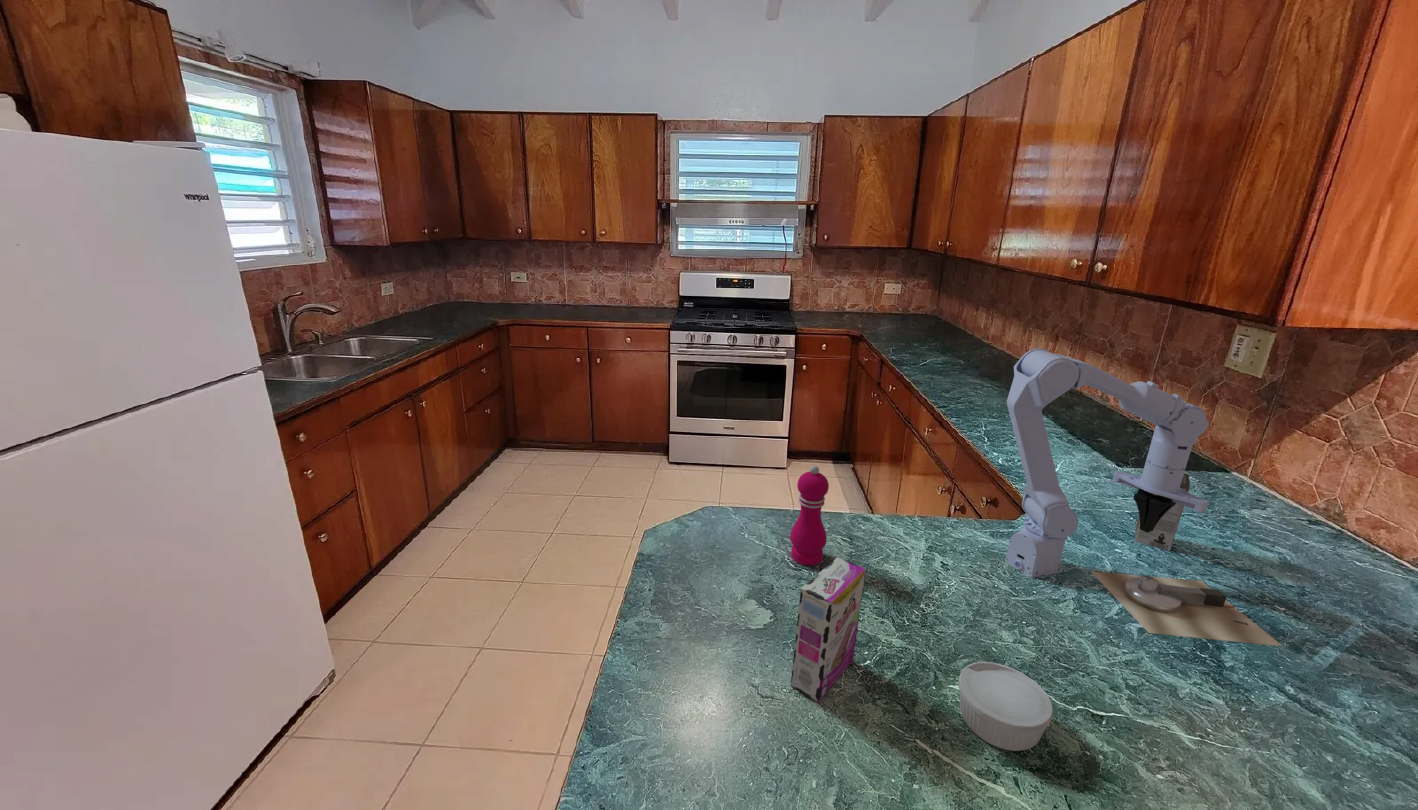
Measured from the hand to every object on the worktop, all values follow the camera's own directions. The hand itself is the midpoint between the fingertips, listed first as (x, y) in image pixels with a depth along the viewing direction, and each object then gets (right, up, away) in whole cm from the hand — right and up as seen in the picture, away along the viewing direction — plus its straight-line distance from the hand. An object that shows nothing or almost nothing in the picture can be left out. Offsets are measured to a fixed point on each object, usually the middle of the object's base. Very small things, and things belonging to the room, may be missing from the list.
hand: (1146, 530), depth 106 cm
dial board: (0, -13, -7) cm, 15 cm away
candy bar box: (-67, -16, -24) cm, 73 cm away
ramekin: (-45, -19, -31) cm, 58 cm away
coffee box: (+14, -7, +16) cm, 22 cm away
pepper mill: (-64, -7, +6) cm, 65 cm away
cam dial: (-1, -11, -7) cm, 13 cm away
